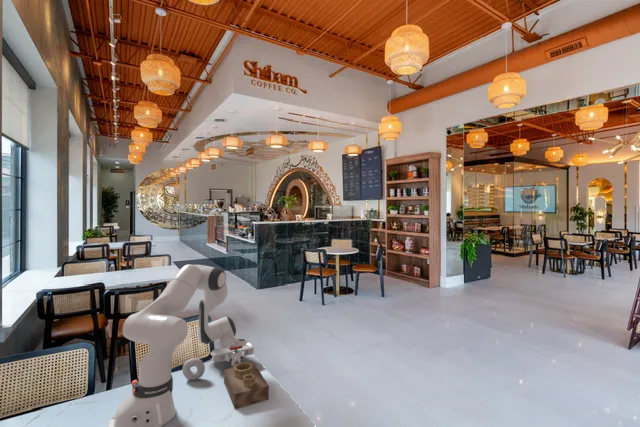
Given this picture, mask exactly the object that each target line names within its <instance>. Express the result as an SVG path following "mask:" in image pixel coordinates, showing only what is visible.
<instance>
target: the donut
mask: <svg viewBox="0 0 640 427" xmlns="http://www.w3.org/2000/svg"><path fill="white" fill-rule="evenodd" d="M205 366H206V365H205V363H204V361H203V360H202V359H199V358H198V357H197V358H196V357H193V358H190V359H187V360H186V361H185V362H184V363H183V365H182V374H183V376H184V377H185V379H187V380H189V381H195V380H198V379H200V378H201V377H202V376H203V375H204V373H205V370H206V367H205ZM191 367H195V368H196V371H192V370H191Z"/></svg>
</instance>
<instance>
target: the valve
mask: <svg viewBox="0 0 640 427" xmlns="http://www.w3.org/2000/svg"><path fill="white" fill-rule="evenodd" d="M241 348H242V345H240V346H235V347H230V348H229V350H234V351H232V352H231V357H232V361H230V365H231V366H230V368H233V367H234V366H235V365H236V364H238V363H242V361H241V360H242V359H241V351H240V350H237V349H241Z"/></svg>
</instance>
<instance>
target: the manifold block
mask: <svg viewBox="0 0 640 427" xmlns="http://www.w3.org/2000/svg"><path fill="white" fill-rule="evenodd" d="M223 384H224V386H225V389H226V392H227V393H228V396H229V398H230V401H231V403H232V406H233V408H234V410H237V409H241V408H244V407H245V408H246V407H247V406H251V405H255V404H258V403H263V402H265V401H269V398H270V396H269V395H270V392H269V391H270V385H269V384H268V382H267V381H266V379H265V378H264V376H263V374H262V373H261V371H260V370H259V368H258V367H257V365H256V363H254V362H253V363H251V362H246V361H244V362H243V361H241V363H238V364H236V365H235V366H234V367H233V368H231V367H230V368H225V369H223Z"/></svg>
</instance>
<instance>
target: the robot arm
mask: <svg viewBox="0 0 640 427" xmlns="http://www.w3.org/2000/svg"><path fill="white" fill-rule="evenodd" d="M226 276H227V275H226V272H225V271H224V270H223V269H222V268H219V267H215V266H214V267H213V266H210V265H206V264H193V263H188V264H184V265H183V266H182V267H181V268H179V270H178V271H177V272H176V273H175V275H174V276H173V277H172V278H171V280H170V281H169V282H168V284H167V285H166V287H165V288H164V289H163V291H162V292H161V293H160V295H159V296H158V297H157V298H156V299H155V300H154V301H153V302H151V303H150V304H148V306H146V307H144V308H143V309H141V310H140V311H138V312H135V313H132V314H130V315H129V316H128V317H127V318H126V319H125V321H124V322H123V324H122V334H123V337H124V338H125V339H127V340H130V341H132V342H135V343H138V344H144V345H145V344H146V345H148V346H149V353H146V354H145V355H144V356H143V357H142V358H141V359H140V360H139V364H138V380H137V379H134V380H132V381H131V387H132V393H131V394H130V395H129V396H126V398H125V399H124V400H122V401H121V402H120V403H119V405H118V407H117V409H116V412H115V414H114V415H113V416H112V417H111V418H110V420H109V421H108V423H107V427H163V426H164V425H165V424H167V423H168V422H170V421H171V420H172V419H173V418H174V417H175V416H176V413H177V409H176V406H175V402H174V397H173V389H174V379H173V375H172V361H173V354H174V352H175V351H176V348H177V347H179V346H180V345H181V344H182V343H183V342H184V341H185V339H186V338H187V335H188V329H189V327H188V324H187V321H186V320H185V319H183V318H180V317H178V316H175V315H177V314H179V313H181V312H183V311H184V310H185V309H186V307H187V306H188V304H189V302H190V301H191V299H192V298H193V296H194V295H195V293H196V291H197V290H203V293H204V294H203V296H202V299H201V300H200V301H199V304H198V331H197V332H198V333H197V335H198V340H199V341H200V343H201V344H204V345H209V344H211V343H213V342H214V341H217V344H218V346H219V348H214V349H213V350H212V351H210V356H212V359H211V361H212V362H213V363H216V362H222V361H223V362H224V361H227V362H228V363H231V361H232V357H231V352H232V351H234V350H229V348H230V347H235V346H240V345H242V348H241V349H237V350H240V351H241V360H244V358H245V357H246V356H247V357H248V356H252V355H253V354H254V353H255V347H254V345H253V344H252V343H251V342H249V341H248V339H247V338H235V336H236V334H237V328H236V324H235V322H234V321H233V319H232V318H231V317H230V316H224V317H220V318H218V319H216V320H212V321H210V322H209V321H208V320H209V319H208V318H209V314H210V313H211V312H212V311H213V310H214V309H216V308H217V307H218V306H221V305H222V304H223V303H224V302H225V300H226V299H227V297H228V285H227V280H226V279H227V277H226Z"/></svg>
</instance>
